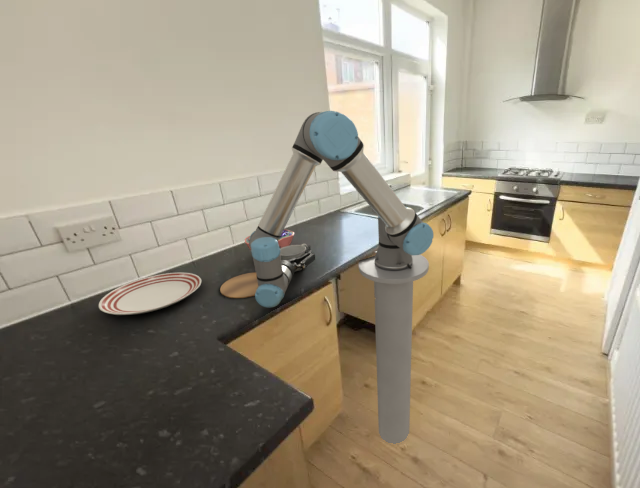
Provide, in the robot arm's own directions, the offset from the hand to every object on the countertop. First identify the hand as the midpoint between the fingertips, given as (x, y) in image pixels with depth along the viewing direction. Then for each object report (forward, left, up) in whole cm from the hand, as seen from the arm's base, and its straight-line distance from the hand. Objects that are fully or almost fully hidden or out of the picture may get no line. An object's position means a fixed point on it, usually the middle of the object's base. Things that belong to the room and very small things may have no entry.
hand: (294, 249), depth 125 cm
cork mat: (+3, +21, -6) cm, 22 cm away
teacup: (-3, +3, -6) cm, 7 cm away
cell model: (+16, -3, -6) cm, 17 cm away
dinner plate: (+23, +41, -6) cm, 48 cm away
